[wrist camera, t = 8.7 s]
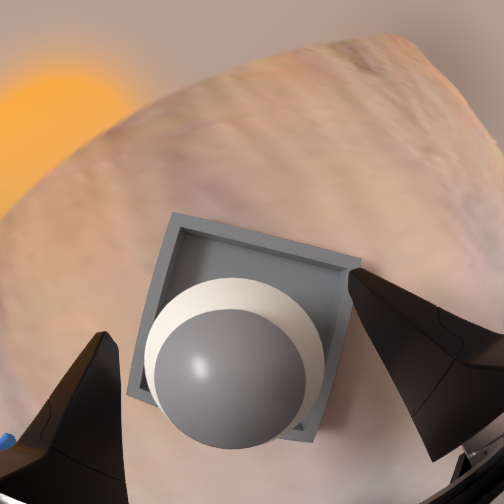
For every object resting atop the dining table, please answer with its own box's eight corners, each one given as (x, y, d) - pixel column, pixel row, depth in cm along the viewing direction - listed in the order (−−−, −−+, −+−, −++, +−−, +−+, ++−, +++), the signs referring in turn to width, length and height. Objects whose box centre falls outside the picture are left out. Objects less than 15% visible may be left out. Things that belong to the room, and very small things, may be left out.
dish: (349, 264, 19) (361, 258, 16) (306, 429, 16) (312, 442, 14) (180, 222, 19) (172, 211, 17) (138, 386, 17) (126, 394, 15)
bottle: (289, 305, 17) (365, 299, 6) (270, 377, 17) (304, 487, 5) (215, 286, 18) (149, 245, 6) (196, 358, 17) (109, 436, 5)
